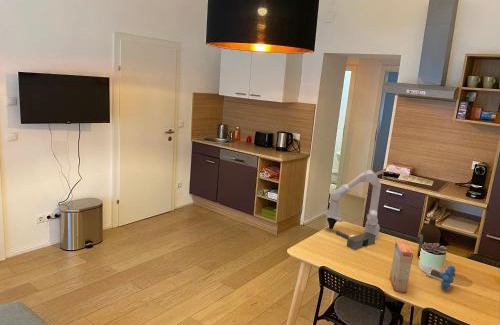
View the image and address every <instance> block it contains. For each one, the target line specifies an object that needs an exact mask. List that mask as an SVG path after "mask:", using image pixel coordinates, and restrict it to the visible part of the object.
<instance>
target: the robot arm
mask: <svg viewBox="0 0 500 325" xmlns="http://www.w3.org/2000/svg"><path fill="white" fill-rule="evenodd" d="M366 182H367V183H369V184H371V185H372V191H371V196H370V197H371V198H370V202H369V203H370V206H369V209H368V213H367V214H366V222H365V226H364V231H363V233H366V232H369V233H371V234H374V235H376V238H375V240H376V239H378V238H380V236H379V235H380V230H381V229H380V228H381V227H380V224H379V219H378V209H379V200H380V196H381V187H382V184H381V181H380V180H379V177H378V176H377V174H376V173H375V172H374V170H372V169H366V170H365V171H363V172H361V173H360V174H359V175H358V176H356V177H355V178H353V179H352V180H351V181H349V182H348V183H347V184H345V183H344V184H340V187H338V188H337V189H334V191H332V192H331V193H330V201H329V207H328V212H326V211H324V212H322V215H323V216H325V217H327V218H326V221H327V223H328V229H329V230H333V229H334V227H335V225H336V223H337V222H339V223H342V222H343V218H341V217H339V216H338V212H339V206H340V203H339V201H340V200H341V198H343V197H344V196H346V195H347V194H348V193H349V192H351V189H352V188H353V187H355V186H357V185H358V184H360V183H366Z"/></svg>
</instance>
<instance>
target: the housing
mask: <svg viewBox="0 0 500 325" xmlns="http://www.w3.org/2000/svg"><path fill="white" fill-rule="evenodd" d="M375 238H376V235H374V234H371V233H369V232H366V233H364V232H363V233H359V234H357V235H356V234H355V236H353V237H350V238H348V240H347V239H346V240H347V242H346V247H347V248H350V249H351V250H353V251H357V250H360V249H362V248H363V245H366V246H371V245H374V244H375V242H376V239H377V238H376V239H375Z"/></svg>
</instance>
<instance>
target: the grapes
mask: <svg viewBox="0 0 500 325" xmlns="http://www.w3.org/2000/svg"><path fill="white" fill-rule="evenodd" d="M447 268H448V269H446V270H445V273H444V272H442V273H440V277H441V278H442V279H443V281H442V282H441V281H440V284H441V288H442V290H444V291H446V290H449V288H451V287H452V286H451V284H452V283H454V280H455V279H454V277H456V273H455V272H457V270H456V268H455V266H453V265H452V264H451V265H450V266H448V267H447Z"/></svg>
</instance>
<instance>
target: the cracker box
mask: <svg viewBox="0 0 500 325" xmlns="http://www.w3.org/2000/svg"><path fill="white" fill-rule="evenodd" d="M413 258H414V251H413V250H412V248H411V246H410V243H409V242H408V241H406V240H397V239H396V240H395V245H394V250H393V257H392V262H391V263H392V264H391V270H390V274H389V279H390V282H391V285H392V289H393V291H395V292H400V293H407V290H408V284H409V281H410V274H411V269H412V264H413V263H412V262H413Z"/></svg>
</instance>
